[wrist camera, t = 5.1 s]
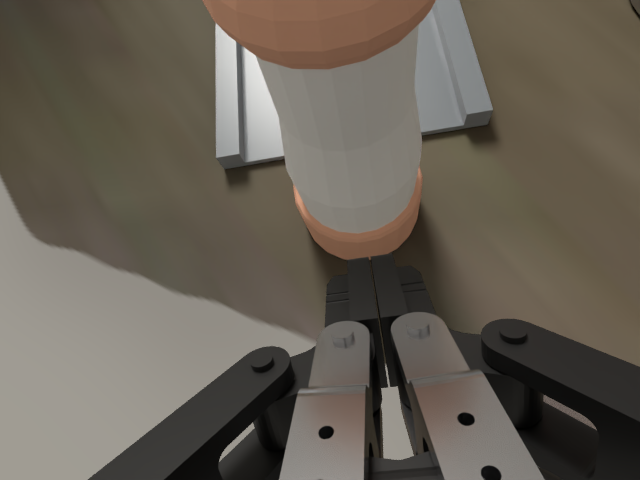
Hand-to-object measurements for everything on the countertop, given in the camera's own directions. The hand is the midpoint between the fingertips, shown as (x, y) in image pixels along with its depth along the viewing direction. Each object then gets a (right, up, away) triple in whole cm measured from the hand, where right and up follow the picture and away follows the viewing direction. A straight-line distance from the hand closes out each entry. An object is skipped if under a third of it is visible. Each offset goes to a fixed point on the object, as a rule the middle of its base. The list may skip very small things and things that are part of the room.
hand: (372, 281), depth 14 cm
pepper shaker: (+1, +3, +13) cm, 13 cm away
